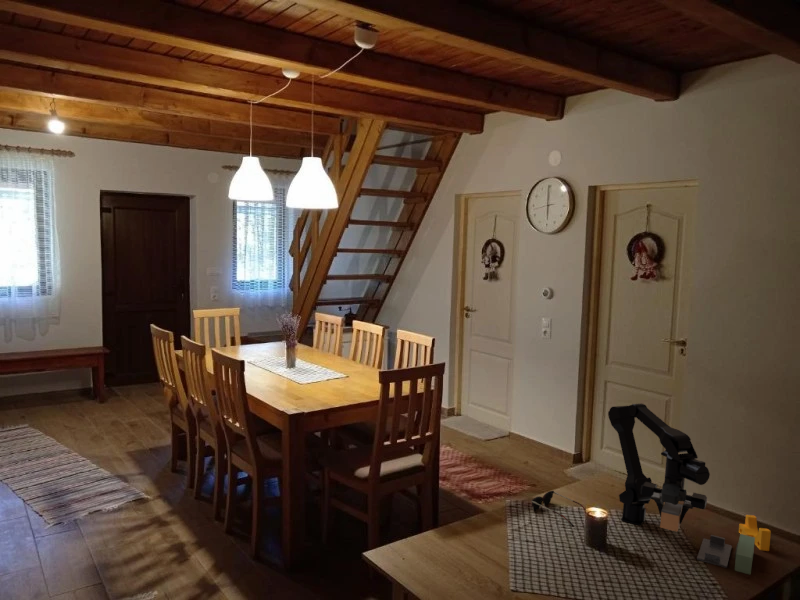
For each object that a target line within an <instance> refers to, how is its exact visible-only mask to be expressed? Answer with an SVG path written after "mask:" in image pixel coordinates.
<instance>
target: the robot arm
mask: <svg viewBox="0 0 800 600" xmlns="http://www.w3.org/2000/svg"><path fill="white" fill-rule="evenodd" d="M607 416H608V419H609V422H610V425H611V426H612V427H613V429H614V430H615V431H616V432H617V434H618V438H619V444H620V448H621V453H622V456H623V461H624V465H625V469H626V480H625V483H624V488H625V490H624V491H623V492H620V494H618V498H619V502H621V503H623V507H622V517H621V519H620V521H621V522H625V523H629V524H633V525H637V526H642V525H643V524H644V522H645V521H646V516H647V515H646V511H647V508H646V507H645V504H647V505H649V504H650V501H651V500H652V501H654V502H655V503H656V506H657V508H658V512H659V516H660V518H661V511H662V508H663V506H664V504H665V502H668V503H672V504H674V505H677V504H679V502H683V504H682V505H683V506H682V512H681V516H680V525H681V524H682V522H683V520H684V518H685V516H686V513H687V512H688V511H689V509H691V510H693V509H694V508H695V509H699V510H700V509H701V510H705V509H706V507H707V503H708V502H707V501H708V497H707V495H705V494H702V493H696V492H693V493H692V494H688V493H687V492H688V491H687V489H685V479H686V480H688V481H690V482H693V483H695V484H698V485H700V486H704V485H705V484H706V483H707V482H708V481H709V479H710V476H711V474H710V470H709V468H708V467H707V466H706V462H705V461H703V460H699V459H698V458H699V456H698V455H697V452H696V450H695V447H694V446H693V444H692V441H691V440H692V439H691V438H690V436H689V435H688V434H687V433H685V432H683V431H682V430H680V429H676V428H673V427H671V426H670V425H668V424H667V423H666V422H665V421H664V420H663V419H662V418H660V417H659V416H657V415H656V414H655V413H654V412H653V411H651V410H650V409H649V408H648V406H647V405H646V404H644V403H632V404H629V405H617V406H611V407H610V408H609V410H608V413H607ZM635 419H637V420H638V421H640V422H641V423H642V424H643V425H644V426H645V427H646V428H648V429H649V430H650V431H651V432H652V433H653V434H655V435H656V436H657V437H658V439H659V442H660V445H662V447H663V448H664V449H665V450H664V451H662V452H660V456H663V457H666V458H665V471H664V482H663V484H662V488H660V487H659V488H658V485H657V483H654V482H652V479H651V477H647V476H646V474H644V473H643V469H642V464H641V461H640V456H639V455H640V454H639V451H638V448H637V444H636V439H635V435H634V431H633V430H634V427H635V425H636V420H635Z"/></svg>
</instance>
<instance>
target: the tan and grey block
mask: <svg viewBox="0 0 800 600" xmlns="http://www.w3.org/2000/svg"><path fill="white" fill-rule="evenodd" d="M682 506H683V504H680V503H678V504H677V505H674V504H672V503H668V502H664V506H663V508H662V511H661V517H660V525H659V528H661V529H665V530H669V531H672V532H676V533H677V532H678V531H679V529H680V527H681V524H680V516H681V512H682Z"/></svg>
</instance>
